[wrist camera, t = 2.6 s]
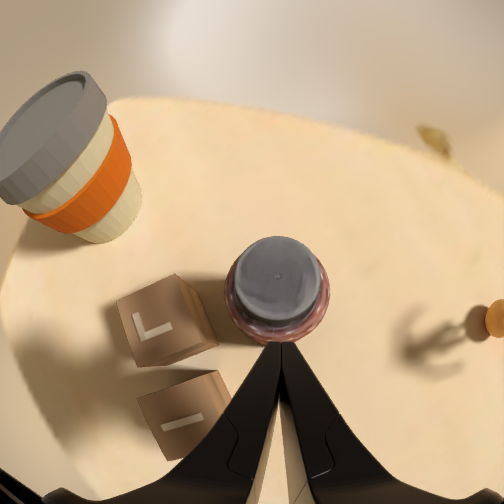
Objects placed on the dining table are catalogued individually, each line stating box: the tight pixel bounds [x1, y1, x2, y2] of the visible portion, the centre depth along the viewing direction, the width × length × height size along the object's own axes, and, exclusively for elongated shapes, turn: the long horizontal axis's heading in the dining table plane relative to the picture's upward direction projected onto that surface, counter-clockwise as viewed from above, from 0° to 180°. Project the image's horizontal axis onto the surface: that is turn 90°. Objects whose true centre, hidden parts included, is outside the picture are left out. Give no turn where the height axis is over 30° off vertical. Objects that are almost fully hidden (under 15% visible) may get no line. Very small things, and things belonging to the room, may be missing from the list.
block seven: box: [116, 274, 219, 367], centre depth 20 cm, size 5×5×6 cm
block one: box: [137, 371, 232, 461], centre depth 17 cm, size 5×5×6 cm
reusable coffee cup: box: [0, 71, 142, 244], centre depth 21 cm, size 13×13×15 cm
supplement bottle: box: [224, 236, 330, 345], centre depth 17 cm, size 6×6×11 cm
